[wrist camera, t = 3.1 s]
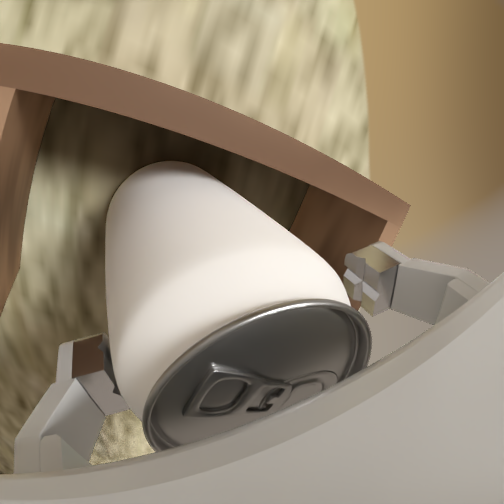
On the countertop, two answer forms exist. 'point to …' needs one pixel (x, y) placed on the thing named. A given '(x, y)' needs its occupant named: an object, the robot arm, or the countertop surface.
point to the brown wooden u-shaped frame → (187, 123)
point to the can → (217, 308)
